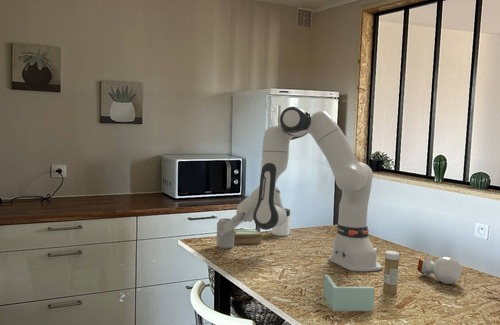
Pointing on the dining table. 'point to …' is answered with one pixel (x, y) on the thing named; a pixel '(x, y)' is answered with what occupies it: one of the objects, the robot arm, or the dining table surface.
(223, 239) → the can
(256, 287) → the dining table surface
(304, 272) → the dining table surface
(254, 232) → the picture frame
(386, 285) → the sprinkles bottle
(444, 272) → the potion bottle
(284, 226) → the jar
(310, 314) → the dining table surface
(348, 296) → the right angle wall
